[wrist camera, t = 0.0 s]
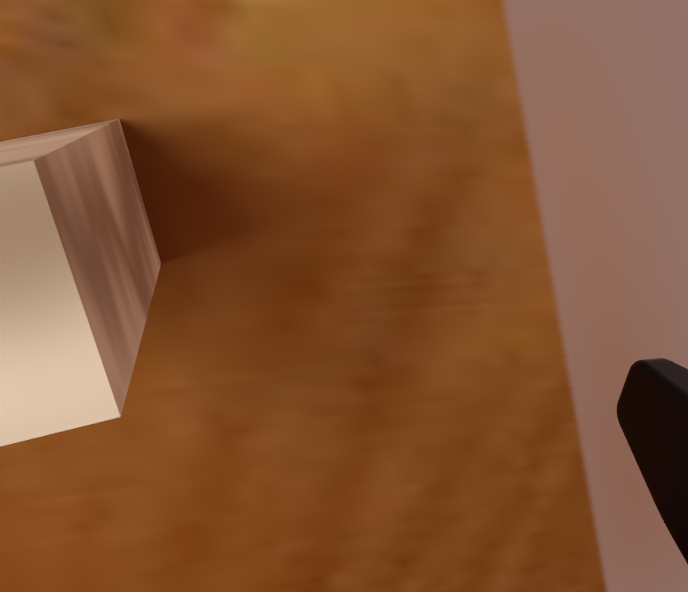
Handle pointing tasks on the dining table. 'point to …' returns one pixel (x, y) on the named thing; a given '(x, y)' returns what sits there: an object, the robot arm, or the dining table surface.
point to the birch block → (70, 279)
